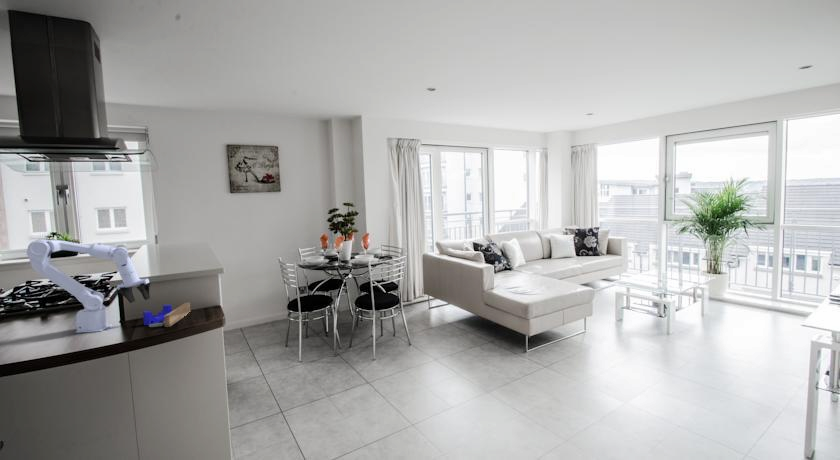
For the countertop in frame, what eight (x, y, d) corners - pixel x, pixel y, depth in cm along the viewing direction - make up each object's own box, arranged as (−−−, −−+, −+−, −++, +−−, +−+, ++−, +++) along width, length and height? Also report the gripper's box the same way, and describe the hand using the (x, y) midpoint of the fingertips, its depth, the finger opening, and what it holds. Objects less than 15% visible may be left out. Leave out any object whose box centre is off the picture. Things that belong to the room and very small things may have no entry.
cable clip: (164, 316, 182) (163, 304, 181) (172, 317, 181) (171, 305, 180) (141, 325, 170) (140, 312, 169) (149, 325, 169) (148, 312, 168)
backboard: (165, 327, 166) (164, 315, 166) (186, 312, 187) (185, 302, 187) (170, 326, 167) (169, 315, 166) (190, 312, 187) (189, 302, 187)
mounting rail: (149, 327, 167) (148, 322, 166) (169, 314, 185) (169, 310, 184) (166, 326, 168) (166, 321, 168) (185, 313, 186) (184, 309, 186)
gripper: (149, 266, 173) (160, 294, 176) (121, 272, 175) (132, 299, 178) (137, 272, 166) (149, 300, 169) (108, 278, 168) (120, 306, 171)
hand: (140, 300), depth 173 cm, fingers open, 7 cm apart
